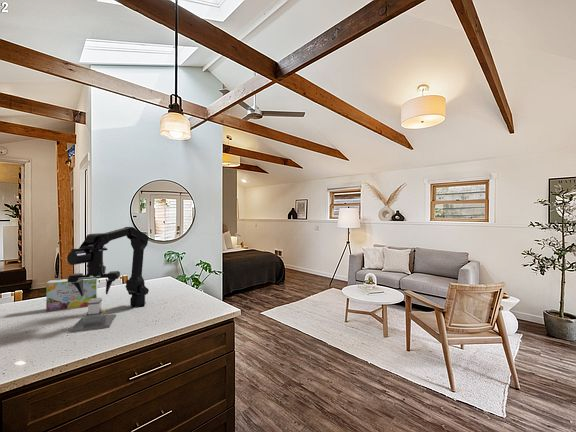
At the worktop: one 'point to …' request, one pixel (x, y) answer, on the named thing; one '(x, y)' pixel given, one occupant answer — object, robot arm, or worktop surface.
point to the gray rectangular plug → (94, 306)
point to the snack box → (69, 294)
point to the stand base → (94, 322)
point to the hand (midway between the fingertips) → (94, 295)
